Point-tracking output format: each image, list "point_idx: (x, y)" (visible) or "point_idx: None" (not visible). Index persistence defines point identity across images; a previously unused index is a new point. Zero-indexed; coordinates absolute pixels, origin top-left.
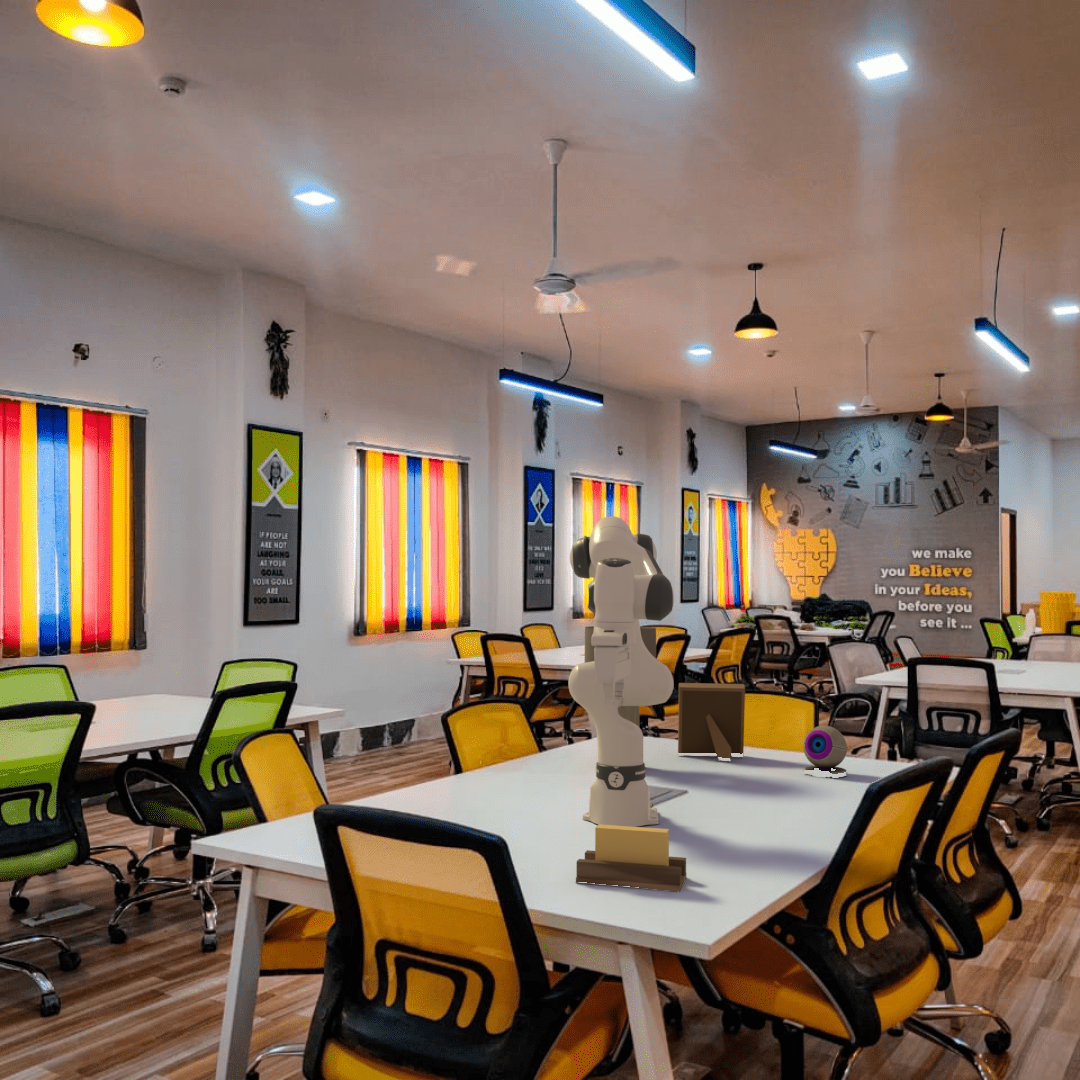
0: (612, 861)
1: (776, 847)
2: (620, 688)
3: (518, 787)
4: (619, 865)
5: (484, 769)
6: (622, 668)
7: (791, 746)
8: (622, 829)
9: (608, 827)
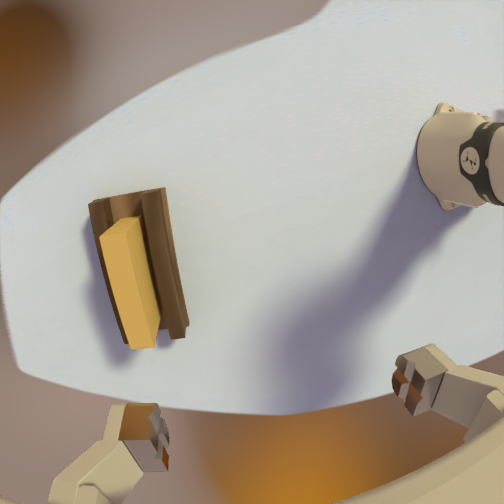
0: None
1: (366, 364)
2: (450, 404)
3: None
4: (102, 268)
5: None
6: None
7: None
8: (111, 284)
9: (112, 257)
